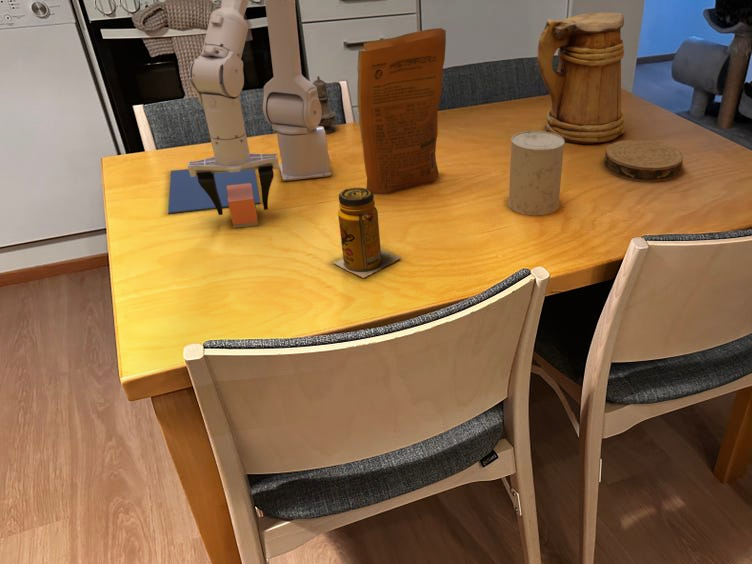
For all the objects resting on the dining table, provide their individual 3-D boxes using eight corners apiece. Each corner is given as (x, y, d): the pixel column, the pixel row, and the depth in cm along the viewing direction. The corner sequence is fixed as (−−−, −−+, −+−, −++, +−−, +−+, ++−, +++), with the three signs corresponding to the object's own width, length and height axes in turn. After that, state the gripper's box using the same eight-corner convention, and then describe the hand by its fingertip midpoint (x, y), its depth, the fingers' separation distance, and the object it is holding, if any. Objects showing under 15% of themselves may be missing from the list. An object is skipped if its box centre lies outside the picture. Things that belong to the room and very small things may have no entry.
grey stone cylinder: (564, 198, 134) (570, 134, 126) (551, 218, 126) (557, 152, 119) (516, 190, 136) (519, 128, 128) (501, 210, 129) (504, 145, 121)
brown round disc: (648, 188, 138) (651, 174, 136) (588, 164, 147) (590, 150, 145) (695, 169, 146) (698, 155, 145) (636, 147, 156) (638, 134, 154)
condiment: (332, 263, 112) (323, 193, 105) (371, 245, 117) (365, 177, 110) (363, 279, 108) (356, 207, 101) (402, 259, 113) (398, 190, 106)
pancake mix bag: (456, 180, 139) (456, 29, 122) (371, 202, 130) (358, 42, 113) (438, 169, 144) (435, 22, 127) (354, 189, 135) (340, 34, 118)
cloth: (253, 164, 144) (253, 162, 144) (260, 203, 129) (259, 202, 129) (171, 172, 140) (171, 170, 140) (168, 214, 125) (168, 212, 125)
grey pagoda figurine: (331, 135, 159) (325, 80, 151) (307, 132, 159) (300, 78, 152) (341, 126, 163) (335, 73, 156) (317, 124, 164) (310, 71, 157)
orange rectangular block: (256, 208, 127) (251, 182, 124) (258, 225, 122) (253, 198, 119) (232, 211, 126) (226, 185, 123) (233, 228, 121) (227, 201, 118)
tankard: (639, 136, 162) (658, 19, 147) (558, 154, 152) (569, 30, 137) (590, 114, 174) (603, 3, 159) (512, 129, 164) (517, 13, 149)
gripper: (181, 146, 110) (200, 224, 118) (275, 138, 114) (287, 214, 122) (181, 131, 115) (200, 207, 124) (271, 124, 119) (283, 198, 127)
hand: (243, 210), depth 123 cm, fingers open, 7 cm apart
